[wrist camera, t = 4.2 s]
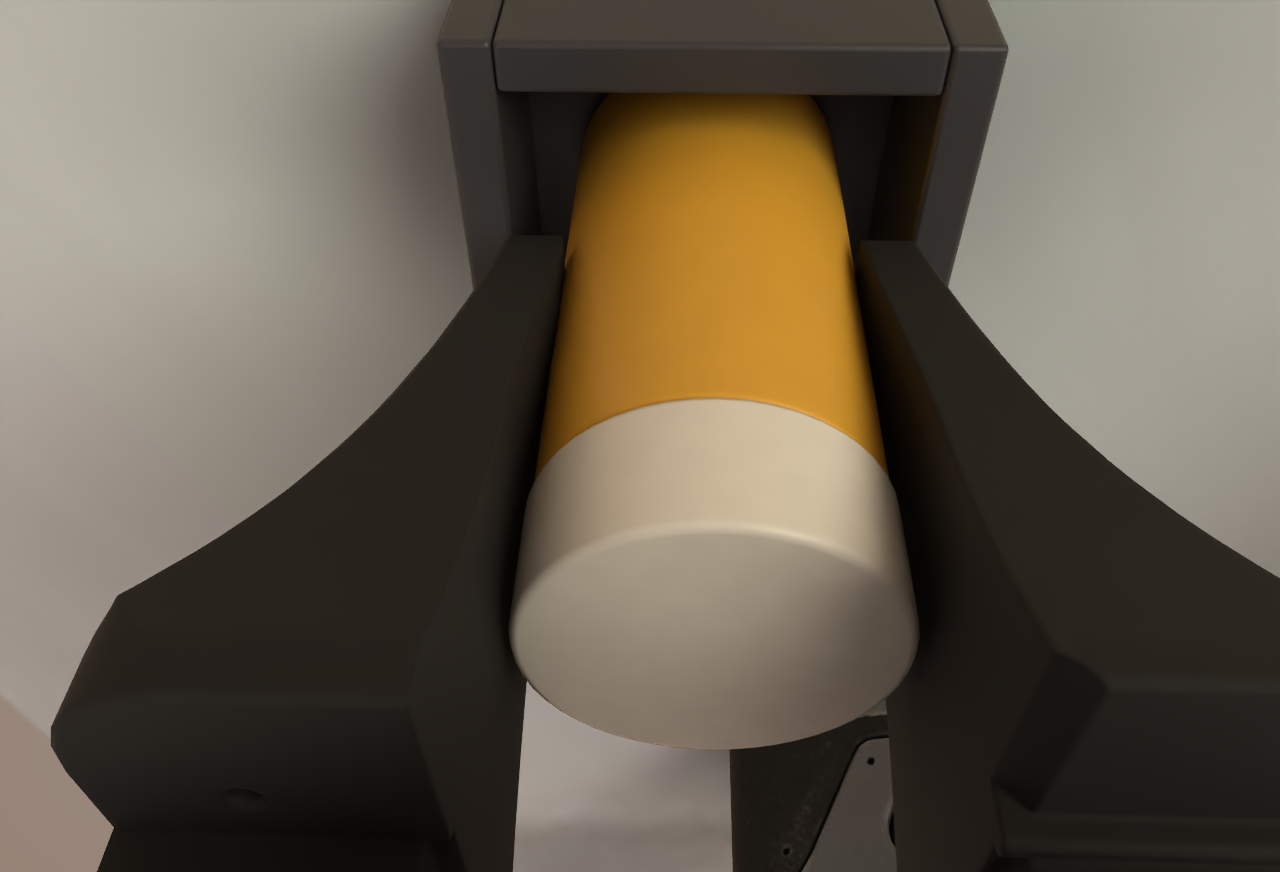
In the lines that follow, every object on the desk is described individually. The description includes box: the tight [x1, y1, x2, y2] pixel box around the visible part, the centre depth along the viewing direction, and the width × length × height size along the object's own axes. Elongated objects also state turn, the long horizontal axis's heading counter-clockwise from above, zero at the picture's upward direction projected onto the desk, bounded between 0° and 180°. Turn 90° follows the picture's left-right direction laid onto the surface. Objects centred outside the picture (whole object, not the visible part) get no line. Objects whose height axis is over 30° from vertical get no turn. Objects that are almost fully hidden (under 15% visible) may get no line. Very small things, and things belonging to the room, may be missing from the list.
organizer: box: [436, 0, 1009, 290], centre depth 16 cm, size 6×12×3 cm, turn 0°
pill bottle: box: [508, 93, 920, 749], centre depth 12 cm, size 4×4×8 cm
